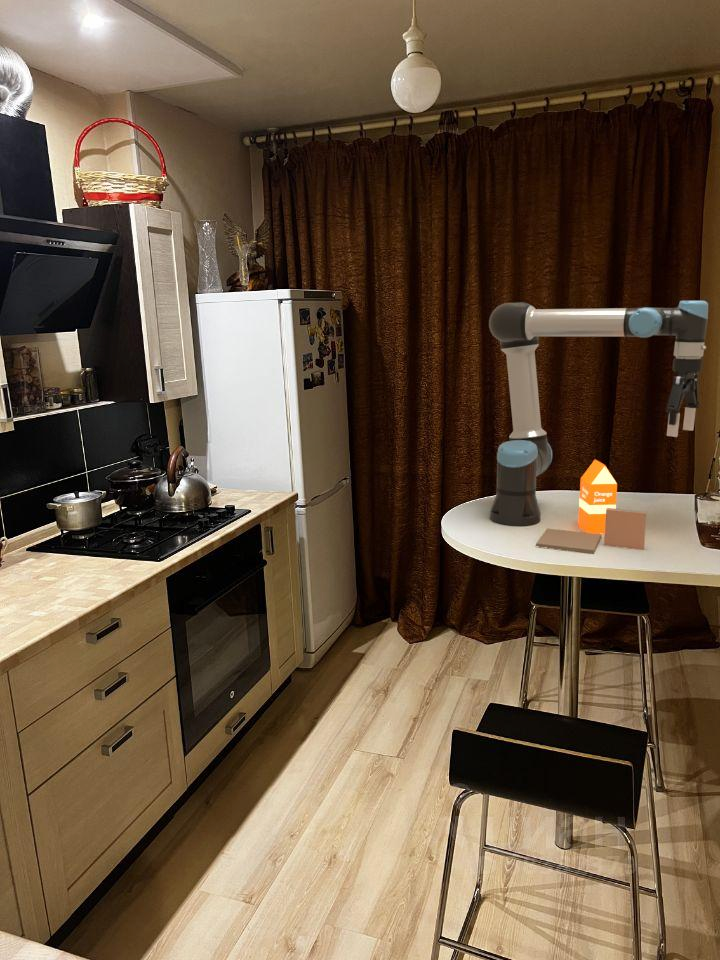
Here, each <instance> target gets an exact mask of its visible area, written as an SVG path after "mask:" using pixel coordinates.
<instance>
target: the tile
mask: <svg viewBox="0 0 720 960" xmlns="http://www.w3.org/2000/svg"><path fill="white" fill-rule="evenodd" d="M647 516H648V515H647V511H645V510H634V509H623V508H616V509H614V508H607V509H606V520H605V534H604V537H603V539H604V540H603V546H606V545H610V546H609V547H615V546H618V547H617V548H623V547H627V548H626V549H632V548H633V550H642V551H643V550H644V549H645V541H646V540H645V537H646V529H647V527H646V526H647V525H646V524H647Z"/></svg>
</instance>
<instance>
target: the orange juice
mask: <svg viewBox="0 0 720 960" xmlns="http://www.w3.org/2000/svg"><path fill="white" fill-rule="evenodd" d="M579 487H580V488H579V497H578V498H579V501H578V519H577V520H578V524H577V525H578V527H579V528H580V527H581V528H582V529H583V530H582V529H581V528H580V529H581V530H582V531H583V532H585V533H594V534H600V533H604V534H603V535H605V520H606V509H607V508H614V509H617V505H616V504H617V491H618V483H617V482H616V480H615V478H614V477H613V475H612V474H611V472H610V470H609V469H608V468H607V466H606V464H604V463H602V462H601V461H599V460H597V459H594V460H593V461H592V463H591V464H590V465H589V467H588V468H587V470H586V471H585V472H584V473H583V474H582V476H581V477H580V484H579Z"/></svg>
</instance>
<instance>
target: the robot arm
mask: <svg viewBox="0 0 720 960" xmlns="http://www.w3.org/2000/svg"><path fill="white" fill-rule="evenodd" d="M708 315H709V302H707V301H705V300H680V301H679V304H678V306H677V307H630V308H629V307H627V308H626V307H624V308H623V307H621V308H620V307H619V308H618V307H615V308H613V307H612V308H607V307H606V308H545V309H543V308H542V309H540V308H537V309H536V308H535V307H534V306H533V305H531V304H529V303H526V302H521V301H520V302H504V303H502V304H499V305H498V306H497V307H496V308H494V310H493V311H492V312H491V314H490V316H489V320H488V327H489V331H490V333H491V335H492V336H493V337H494V338H495V339H496V340H498V341H499V345H500V346H499V347H500V351H501V352H502V353H504V354H505V355H506V357H505V358H506V367H507V374H508V375H507V376H508V377H507V378H508V386H509V387H508V388H509V397H510V408H511V418H512V432H511V433H510V434H509V436H508V437H509V440H507V441H504V442H502V443H501V444H499V446H498V448H497V453H496V461H497V462H496V494H495V497H494V500H493V502H492V505H491V508H490V511H489V519H490V520H491V521H492V522H495V523H497V524H500V525H507V526H531V525H535V524H538V523H540V522H541V520H542V519H541V518H542V512H541V509H540V505H539V503H538V502H539V501H538V499H537V496H536V492H537V477H538V476H539V475H541V474H543V473H544V472H546V471H547V469H548V468H549V466H550V465H551V463H552V460H553V449H552V447H551V445H550V443H549V442H548V436H547V435H548V434H547V431H545V430H544V429H543V428H542V421H541V411H540V399H539V386H538V375H537V364H536V363H537V362H536V355H535V354H536V353H535V351H536V350H537V348H538V347H539V345H540V341H539V337H624V338H625V337H627V338H630V337H633V338H636V337H637V338H650V337H653V336H675V342H674V347H673V348H674V349H673V356H674V359H673V360H672V371H673V372H674V373H678V376H673V379H672V386H671V390H670V393H669V397H668V401H667V404H666V405H667V406H666V408H665V413H668V418H667V429H666V436H667V437H674V438H677V437H678V435H679V427H680V418H681V417H680V416H681V415H680V414H681V413H680V410H681V407H682V405H683V401H684V399H685V403H686V407H684V416H683V417H684V418H683V425H682V431H694V427H695V419H696V410H697V409H699V408H700V395H699V373H701V372H702V371H703V361H704V360H703V358H702V357H704V351H705V350H706V349H707V345H705V342H706V337H707V329H708V328H707V326H708V320H709V316H708ZM696 408H697V409H696Z"/></svg>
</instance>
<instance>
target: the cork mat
mask: <svg viewBox="0 0 720 960" xmlns="http://www.w3.org/2000/svg"><path fill="white" fill-rule="evenodd" d="M602 536H603V534H594V533H586V532H585V531H577V530H576V531H573V530H564V529H557V528H556V529H555V528H546V529H545V531H544V532H543V533H542V535H541V536H540V537H539V539H538V540H537V541H536V542H535V547H536V546H539V547H538V548H541V547H547V548H546V549H549V548H554V549H553V550H557V549H561V550H560V551H566V550H568V551H567V552H574V551H575V552H574V553H582V552H583V553H584V554H591V553H592V554H593V555H594V554H595V552H596V550H597V548H598V545H599V544H600V542H601V540H600V539H602ZM583 553H582V554H583Z"/></svg>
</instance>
